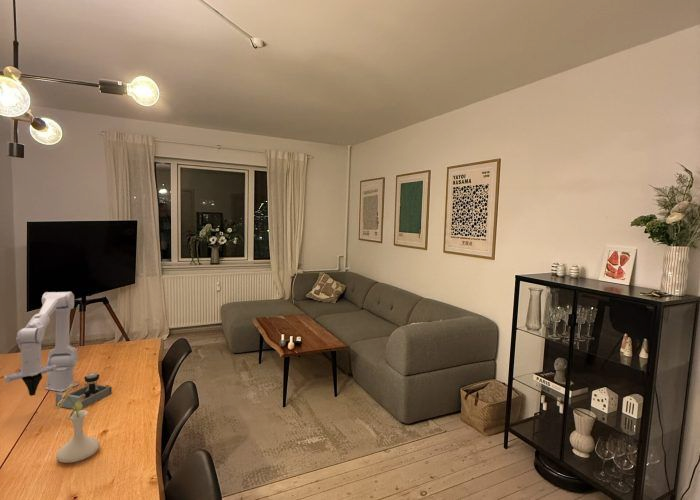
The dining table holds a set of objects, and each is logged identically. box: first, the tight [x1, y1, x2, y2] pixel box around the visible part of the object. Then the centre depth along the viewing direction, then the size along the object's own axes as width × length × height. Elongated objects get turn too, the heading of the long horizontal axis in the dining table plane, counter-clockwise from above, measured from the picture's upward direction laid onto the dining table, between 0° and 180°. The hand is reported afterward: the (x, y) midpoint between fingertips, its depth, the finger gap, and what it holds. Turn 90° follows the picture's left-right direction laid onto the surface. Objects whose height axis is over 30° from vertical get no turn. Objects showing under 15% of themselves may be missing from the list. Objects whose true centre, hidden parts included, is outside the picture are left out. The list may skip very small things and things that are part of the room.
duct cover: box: [55, 392, 82, 410], centre depth 146 cm, size 12×1×5 cm, turn 78°
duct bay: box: [68, 384, 113, 410], centre depth 154 cm, size 11×14×3 cm
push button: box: [81, 371, 101, 399], centre depth 155 cm, size 7×5×10 cm
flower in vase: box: [55, 384, 101, 464], centre depth 116 cm, size 13×11×25 cm
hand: (32, 394), depth 137 cm, fingers closed
